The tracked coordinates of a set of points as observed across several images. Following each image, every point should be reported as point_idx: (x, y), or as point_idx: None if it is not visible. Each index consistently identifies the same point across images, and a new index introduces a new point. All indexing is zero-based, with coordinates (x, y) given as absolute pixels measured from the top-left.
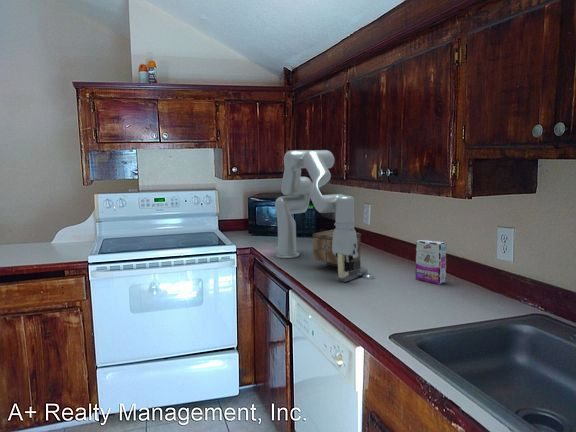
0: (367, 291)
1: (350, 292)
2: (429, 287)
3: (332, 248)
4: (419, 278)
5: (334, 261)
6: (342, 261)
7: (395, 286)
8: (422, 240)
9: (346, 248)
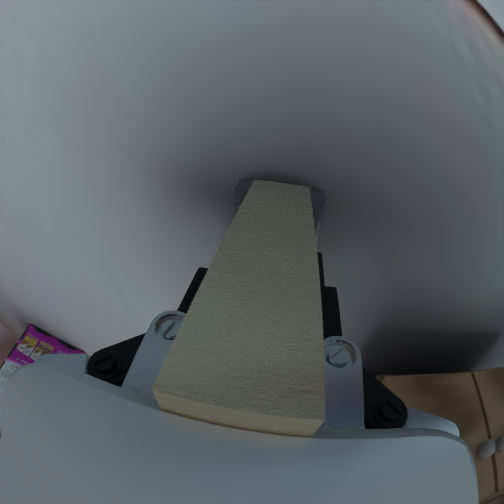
0: (50, 122)
1: (94, 35)
2: (20, 296)
3: (472, 491)
4: (70, 350)
5: (426, 384)
6: (205, 275)
7: (48, 263)
8: None
9: (28, 487)
